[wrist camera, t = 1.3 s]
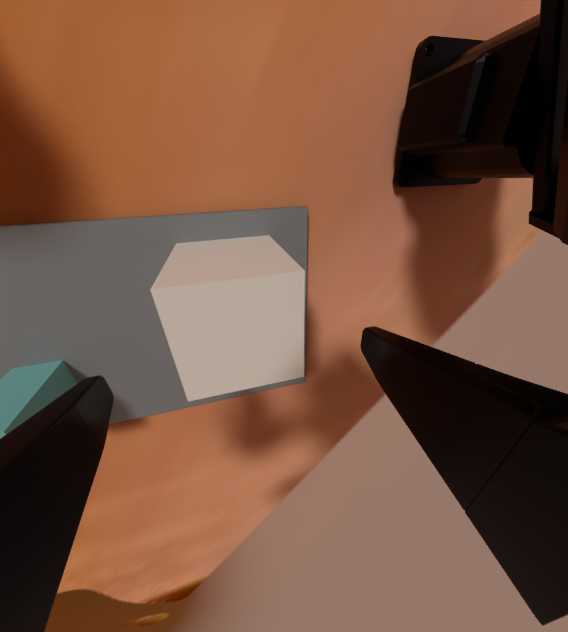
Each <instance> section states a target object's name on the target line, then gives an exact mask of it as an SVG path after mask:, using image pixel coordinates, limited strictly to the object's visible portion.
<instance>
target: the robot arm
mask: <svg viewBox="0 0 568 632" xmlns="http://www.w3.org/2000/svg"><path fill="white" fill-rule="evenodd" d="M425 48H427V50H428V55H427V57H426V56H425ZM403 175H404V177H405V178H404V180H403V182H402V176H403ZM482 178H533V196H532V210H531V211H530V212H529V224H531V225H533V226H535V227H537V228H539V229H541V230H543V231H545V232H547V233H549V234H551V235H554V236H555V237H558V238H559V239H560V240H561V241H562V242H563V243H565V244H567V245H568V0H541V9H540V14H538V15H536V16H534V17H532V18H530V19H528V20H526V21H524V22H522V23H520V24H518V25H516V26H514V27H512V28H510V29H508V30H506V31H504V32H502V33H500V34H498V35H496V36H494V37H492V38H490V39H489V40H487V41H482V40H471V39H460V38H449V37H439V36H429V37H427V38H426V39H424V40H423V41H422V42H420V43H419V45H418V46H417V48H416V52H415V56H414V62H413V68H412V74H411V80H410V86H409V91H408V94H407V100H406V106H405V112H404V118H403V124H402V130H401V136H400V142H399V151H398V157H397V163H396V169H395V175H394V184H395V185H396V186H397V187H420V186H439V185H457V184H475V183H478V182H479V181H481V179H482ZM361 350H362V353H363V355H364V356H365V358H366V360H367V362H368V364H369V366H370V368H371V370H372V372H373V373H374V375H375V377H376V379H377V381H378V383H379V384H380V386H381V387H382V389H383V391H384V392H385V393H386V395H387V396H388V398H389V399H390V401H391V402H392V404H393V405H394V407H395V408H396V410H397V411H398V413H399V414H400V416H401V417H402V419H403V420H404V422H405V423H406V425H407V426H408V428H409V429H410V431H411V432H412V434H413V435H414V436H415V438H416V440H417V441H418V443H419V444H420V446H421V447H422V449H423V450H424V451H425V453H426V454H427V456H428V458H429V459H430V460H431V462H432V463H433V465H434V466H435V468H436V469H437V471H438V472H439V474H440V475H441V477H442V478H443V480H444V481H445V483H446V484H447V486H448V487H449V489H450V490H451V492H452V493H453V495H454V496H455V497H456V499H457V501H458V502H459V503H460V505H461V507H462V508H463V510H465V513H466V514H467V516H468V517H469V519H470V520H471V522H472V523H473V525H474V526H475V528H476V529H477V531H478V532H479V534H480V535H481V537H482V538H483V540H484V541H485V543H486V544H487V545H488V547H489V549H490V550H491V552H492V553H493V554H494V556H495V558H496V559H497V560H498V562H499V564H500V565H501V566H502V568H503V569H504V571H505V572H506V574H507V575H508V577H509V578H510V580H511V581H512V583H513V584H514V586H515V587H516V589H517V590H518V592H519V593H520V595H521V596H522V598H523V599H524V600H525V602H526V603H527V605H528V607H529V608H530V609H531V611H532V613H533V614H534V615H535V617H536V618H537V619H538V621H539V622H540V623H541V624H542V625H546V624H547V623H550V622H552V621H555V620H557V619H559V618H561V617H564V616H566V615H568V394H566V393H563V392H560V391H557V390H553V389H550V388H547V387H544V386H541V385H538V384H534V383H531V382H528V381H525V380H522V379H519V378H516V377H513V376H510V375H507V374H504V373H502V372H499V371H496V370H493V369H490V368H487V367H485V366H482V365H479V364H475V363H474V362H471V361H468V360H465V359H463V358H460V357H457V356H454V355H452V354H449V353H446V352H443V351H441V350H438V349H435V348H433V347H430V346H427V345H424V344H422V343H419V342H416V341H413V340H411V339H408V338H405V337H403V336H400V335H397V334H394V333H392V332H389V331H386V330H383V329H381V328H378V327H375V326H373V327H367V328H365V329H364V330H363V333H362V340H361ZM113 402H114V396H113V393H112V391H111V389H110V387H109V385H108V383H107V382H106V380H105V378H104V377H103V376H101V375H98V376H92V377H87V378H85V379H83V380H82V381H80V382H79V383H77V384H76V385H75V386H73V387H72V388H71V389H69V390H68V391H66V392H65V393H64V394H62V395H61V396H59V397H58V398H57V399H55V400H54V401H52V402H51V403H50V404H48V405H47V406H45V407H44V408H43V409H41V410H40V411H38V412H37V413H36V414H34V415H33V416H31V417H30V418H29V419H27V420H26V421H24V422H23V423H22V424H20V425H19V426H17V427H16V428H15V429H13V430H12V431H10V432H9V433H8V434H6V435H5V436H4V437H2V438H1V439H0V632H44V631H45V628H46V625H47V622H48V619H49V615H50V613H51V609H52V606H53V603H54V600H55V597H56V594H57V591H58V588H59V585H60V582H61V579H62V576H63V573H64V569H65V566H66V563H67V560H68V557H69V554H70V551H71V548H72V545H73V542H74V539H75V536H76V533H77V529H78V526H79V523H80V520H81V517H82V514H83V511H84V508H85V505H86V502H87V499H88V496H89V493H90V489H91V486H92V483H93V480H94V477H95V474H96V471H97V468H98V465H99V462H100V459H101V456H102V452H103V449H104V445H105V441H106V436H107V431H108V426H109V421H110V416H111V411H112V407H113Z"/></svg>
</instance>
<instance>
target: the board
mask: <svg viewBox="0 0 568 632" xmlns="http://www.w3.org/2000/svg"><path fill="white" fill-rule="evenodd" d="M307 221H308V207H306V206H296V207H281V208H266V209H250V210H235V211H220V212H205V213H189V214H174V215H159V216H143V217H128V218H113V219H97V220H82V221H67V222H52V223H36V224H21V225H6V226H0V380H1V379H2V378H3V377H4V376H5V375H6V374H7V373H8V372H9V371H10V370H11V369H12V368H18V367H24V366H30V365H36V364H42V363H48V362H55V361H61V360H63V361H64V363H65V364H66V366H67V367H68V369H69V370H70V372H71V374H72V375H73V377H74V378H75V380H76V381H77V383H79V382H80V381H82V380H83V379H85V378H87V377H92V376H98V375H101V376H103V377H104V378H105V380H106V382H107V383H108V385H109V387H110V389H111V391H112V393H113V396H114V402H113V407H112V411H111V416H110V421H109V425H110V424H115V423H119V422H124V421H128V420H133V419H137V418H142V417H147V416H151V415H156V414H160V413H165V412H169V411H174V410H179V409H183V408H188V407H192V406H197V405H201V404H206V403H211V402H215V401H220V400H224V399H229V398H233V397H238V396H243V395H247V394H252V393H256V392H261V391H265V390H270V389H275V388H279V387H284V386H288V385H293V384H297V383H302V382H305V362H306V292H307ZM266 235H269V236H270V237H271V238H272V239H273V240H274V241H275V242H276V243H277V244H278V245H279V246H280V247H281V248H282V249H283V250H284V251H285V252H286V253H287V254H288V255H289V256H290V257H291V258H292V259H293V260H294V261H295V262H296V263H297V264H298V265H299V266H300V267H301V268H303V269H304V270H305V311H304V377H301V378H296V379H292V380H287V381H282V382H278V383H273V384H268V385H264V386H259V387H254V388H250V389H245V390H240V391H236V392H231V393H226V394H222V395H217V396H212V397H208V398H203V399H198V400H194V401H189V402H188V400H187V397H186V394H185V391H184V388H183V385H182V382H181V379H180V376H179V373H178V370H177V367H176V364H175V362H174V359H173V356H172V353H171V350H170V347H169V344H168V341H167V338H166V335H165V332H164V329H163V326H162V323H161V320H160V317H159V314H158V311H157V308H156V305H155V302H154V299H153V296H152V293H151V290H150V289H151V288H152V286H153V284H154V282H155V280H156V279H157V277H158V275H159V273H160V272H161V270H162V268H163V266H164V264H165V263H166V261H167V259H168V257H169V255H170V254H171V252H172V250H173V248H174V247H175V245H176V243H187V242H198V241H209V240H221V239H232V238H243V237H255V236H266Z"/></svg>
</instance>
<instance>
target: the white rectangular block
mask: <svg viewBox="0 0 568 632" xmlns="http://www.w3.org/2000/svg"><path fill="white" fill-rule="evenodd" d="M150 290H151V293H152V296H153V299H154V302H155V305H156V308H157V311H158V314H159V317H160V320H161V323H162V326H163V329H164V332H165V335H166V338H167V341H168V344H169V347H170V350H171V353H172V356H173V359H174V362H175V364H176V367H177V370H178V373H179V376H180V379H181V382H182V385H183V388H184V391H185V394H186V397H187V400H188V402H189V401H194V400H198V399H203V398H208V397H212V396H217V395H222V394H226V393H231V392H236V391H240V390H245V389H250V388H254V387H259V386H264V385H268V384H273V383H278V382H282V381H287V380H292V379H296V378H301V377H304V311H305V270H304V269H303V268H301V267H300V266H299V265H298V264H297V263H296V262H295V261H294V260H293V259H292V258H291V257H290V256H289V255H288V254H287V253H286V252H285V251H284V250H283V249H282V248H281V247H280V246H279V245H278V244H277V243H276V242H275V241H274V240H273V239H272V238H271V237H270V236H269V235H266V236H255V237H243V238H232V239H221V240H209V241H198V242H187V243H176V245H175V247H174V248H173V250H172V252H171V254H170V255H169V257H168V259H167V261H166V263H165V264H164V266H163V268H162V270H161V272H160V273H159V275H158V277H157V279H156V280H155V282H154V284H153V286H152V288H151V289H150Z"/></svg>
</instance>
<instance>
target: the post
mask: <svg viewBox="0 0 568 632" xmlns="http://www.w3.org/2000/svg"><path fill="white" fill-rule="evenodd" d="M76 384H77V381H76V380H75V378H74V377H73V375H72V374H71V372H70V370H69V369H68V367H67V366H66V364H65V363H64V361H63V360H61V361H55V362H48V363H42V364H36V365H30V366H24V367H18V368H12V369H11V370H10V371H9V372H8V373H7V374H6V375H5V376H4V377H3V378H2V379H1V380H0V439H1V438H2V437H4V436H5V435H6V434H8V433H9V432H10V431H12V430H13V429H15V428H16V427H17V426H19V425H20V424H22V423H23V422H24V421H26V420H27V419H29V418H30V417H31V416H33V415H34V414H36V413H37V412H38V411H40V410H41V409H43V408H44V407H45V406H47V405H48V404H50V403H51V402H52V401H54V400H55V399H57V398H58V397H59V396H61V395H62V394H64V393H65V392H66V391H68V390H69V389H71V388H72V387H73V386H75V385H76Z"/></svg>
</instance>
